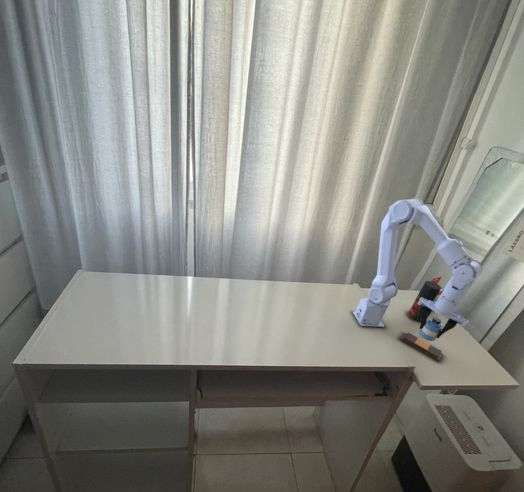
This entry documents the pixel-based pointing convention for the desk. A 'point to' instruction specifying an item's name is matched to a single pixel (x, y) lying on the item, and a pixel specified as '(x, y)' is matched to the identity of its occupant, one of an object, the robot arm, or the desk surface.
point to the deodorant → (426, 292)
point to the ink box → (440, 290)
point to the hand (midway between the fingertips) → (429, 332)
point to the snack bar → (422, 346)
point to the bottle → (431, 329)
